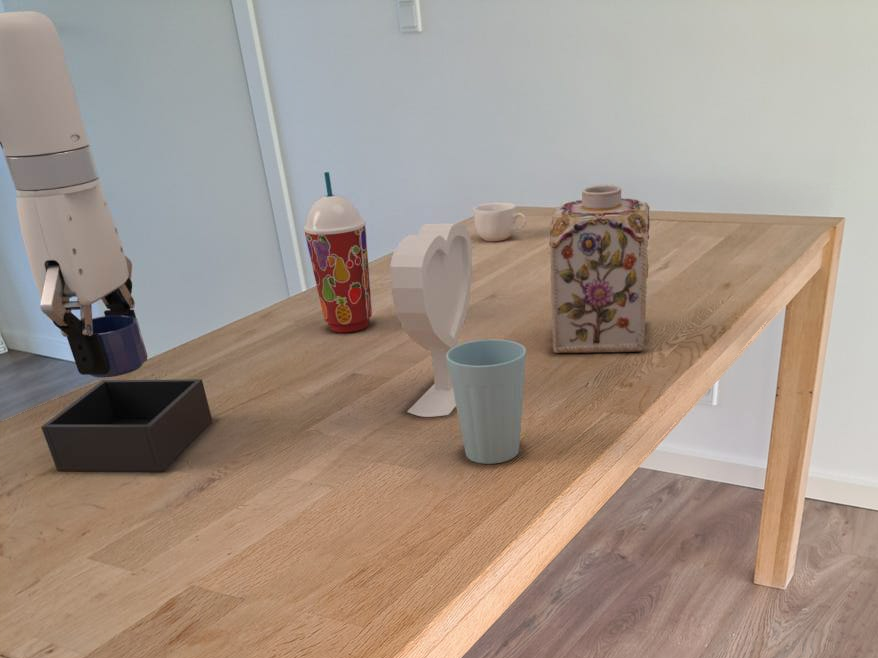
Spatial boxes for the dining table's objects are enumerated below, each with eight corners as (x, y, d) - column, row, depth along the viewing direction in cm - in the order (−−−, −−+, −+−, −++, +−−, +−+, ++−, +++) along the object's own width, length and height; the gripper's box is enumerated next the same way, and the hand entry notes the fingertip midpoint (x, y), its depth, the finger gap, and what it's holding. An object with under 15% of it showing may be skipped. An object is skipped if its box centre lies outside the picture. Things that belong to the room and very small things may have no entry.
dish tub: (57, 470, 97) (40, 426, 94) (115, 421, 108) (102, 380, 105) (163, 471, 95) (150, 426, 92) (212, 421, 106) (202, 379, 103)
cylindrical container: (69, 380, 94) (54, 336, 92) (101, 357, 100) (88, 315, 97) (130, 379, 93) (117, 334, 90) (159, 356, 98) (147, 313, 96)
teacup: (467, 242, 168) (465, 211, 165) (486, 232, 173) (484, 201, 170) (517, 245, 164) (516, 212, 161) (534, 234, 169) (533, 203, 166)
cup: (536, 438, 96) (532, 338, 90) (522, 470, 90) (517, 366, 84) (465, 436, 97) (457, 338, 91) (447, 468, 92) (437, 365, 85)
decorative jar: (646, 323, 124) (651, 176, 113) (645, 353, 114) (651, 195, 104) (557, 325, 125) (554, 181, 115) (549, 354, 116) (546, 200, 106)
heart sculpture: (442, 421, 101) (425, 249, 90) (400, 418, 103) (379, 248, 92) (485, 371, 113) (475, 214, 102) (447, 369, 114) (433, 214, 104)
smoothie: (387, 318, 133) (368, 166, 122) (363, 337, 127) (341, 178, 115) (336, 316, 136) (313, 167, 124) (310, 334, 130) (282, 179, 118)
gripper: (65, 158, 93) (119, 334, 103) (-38, 193, 79) (35, 392, 90) (134, 154, 92) (180, 333, 102) (40, 188, 78) (105, 391, 88)
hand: (112, 359), depth 96 cm, fingers closed on cylindrical container, 6 cm apart
